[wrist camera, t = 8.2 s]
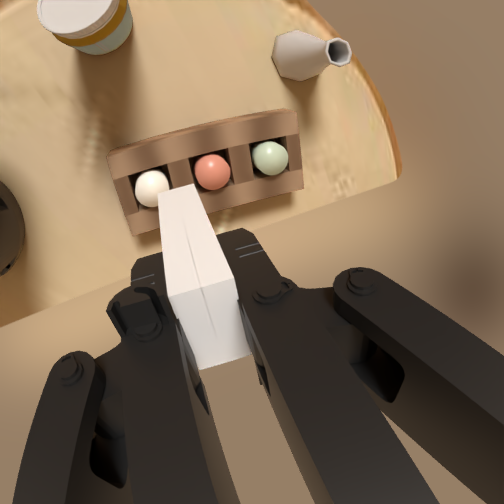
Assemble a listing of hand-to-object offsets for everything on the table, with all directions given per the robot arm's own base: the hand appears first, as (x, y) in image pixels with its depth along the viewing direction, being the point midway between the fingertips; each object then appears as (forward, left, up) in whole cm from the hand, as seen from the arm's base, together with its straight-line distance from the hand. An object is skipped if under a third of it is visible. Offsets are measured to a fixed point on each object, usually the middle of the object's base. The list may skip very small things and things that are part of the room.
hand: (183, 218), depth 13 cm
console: (+6, -4, -26) cm, 27 cm away
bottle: (-9, +12, -27) cm, 31 cm away
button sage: (+13, -2, -25) cm, 28 cm away
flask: (+15, +12, -27) cm, 33 cm away
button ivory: (-1, -6, -25) cm, 26 cm away
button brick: (+6, -4, -25) cm, 26 cm away
